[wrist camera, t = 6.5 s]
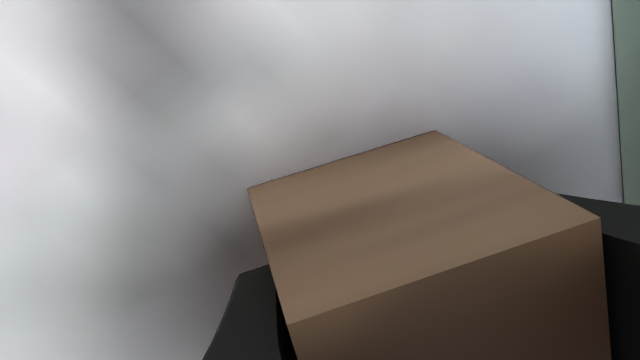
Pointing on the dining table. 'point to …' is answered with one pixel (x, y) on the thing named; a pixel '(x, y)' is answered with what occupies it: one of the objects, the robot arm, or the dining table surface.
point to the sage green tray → (628, 92)
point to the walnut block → (432, 259)
